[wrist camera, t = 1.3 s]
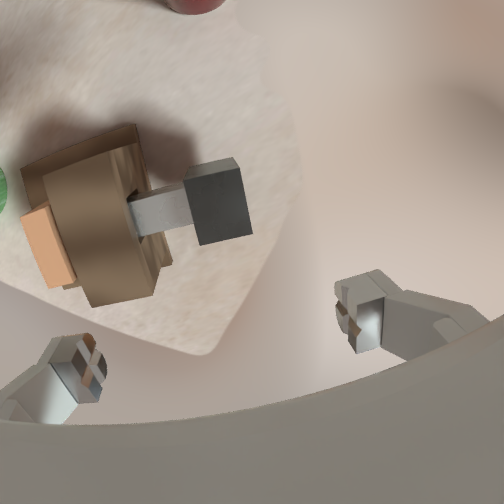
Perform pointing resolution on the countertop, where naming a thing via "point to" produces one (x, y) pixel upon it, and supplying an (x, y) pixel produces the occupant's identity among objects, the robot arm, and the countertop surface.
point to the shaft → (196, 204)
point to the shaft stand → (101, 215)
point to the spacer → (48, 246)
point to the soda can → (193, 6)
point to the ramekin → (2, 190)
